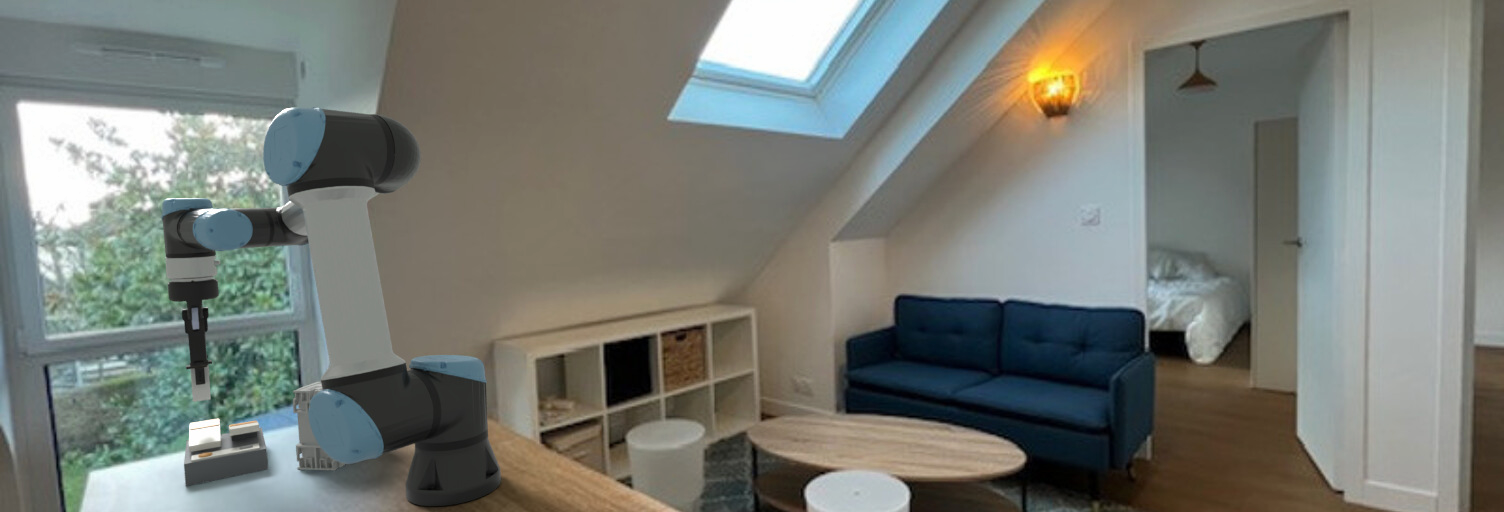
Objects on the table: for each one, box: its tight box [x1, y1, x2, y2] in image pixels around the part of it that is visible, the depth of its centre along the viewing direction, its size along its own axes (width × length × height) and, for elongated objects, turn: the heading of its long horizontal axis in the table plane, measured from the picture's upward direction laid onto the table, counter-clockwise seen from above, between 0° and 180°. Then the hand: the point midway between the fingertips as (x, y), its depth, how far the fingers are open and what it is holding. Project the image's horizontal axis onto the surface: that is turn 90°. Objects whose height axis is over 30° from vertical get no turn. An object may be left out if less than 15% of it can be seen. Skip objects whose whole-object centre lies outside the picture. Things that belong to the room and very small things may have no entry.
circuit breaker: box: [292, 380, 345, 471], centre depth 137 cm, size 8×14×15 cm, turn 174°
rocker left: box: [188, 417, 221, 452], centre depth 133 cm, size 10×5×1 cm, turn 38°
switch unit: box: [183, 427, 269, 487], centre depth 133 cm, size 16×12×5 cm
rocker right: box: [228, 420, 260, 436], centre depth 136 cm, size 10×5×1 cm, turn 38°
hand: (201, 399), depth 135 cm, fingers closed
